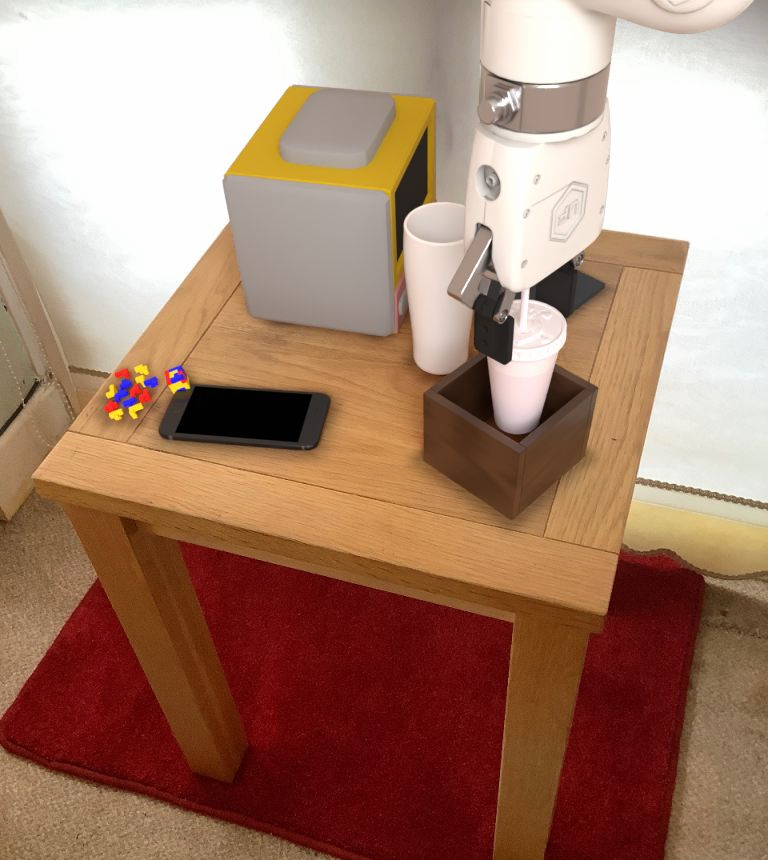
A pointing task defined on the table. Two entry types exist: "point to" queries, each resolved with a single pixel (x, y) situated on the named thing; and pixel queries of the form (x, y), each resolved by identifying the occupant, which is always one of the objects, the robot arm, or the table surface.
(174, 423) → the smartphone
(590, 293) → the mat
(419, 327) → the drinking glass
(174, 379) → the building blocks
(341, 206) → the alarm clock
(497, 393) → the smoothie
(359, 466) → the table surface
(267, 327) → the table surface
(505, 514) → the holder
